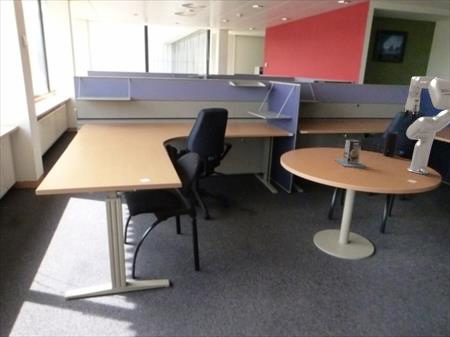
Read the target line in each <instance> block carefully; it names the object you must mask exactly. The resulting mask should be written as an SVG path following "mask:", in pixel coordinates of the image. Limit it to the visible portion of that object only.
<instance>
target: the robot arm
mask: <svg viewBox="0 0 450 337" xmlns="http://www.w3.org/2000/svg"><path fill="white" fill-rule="evenodd" d="M423 89H428V94H429V96H430V99H431V103H432V106H433V107H434V108H435V109H437V110H442V111H440V112H439V113H438V114H437V115H434V116H420V117H419V118H417V117H418V116H417V115H418V113H419V111H420V103H421V93H422V90H423ZM410 111H411V112H412V113H411V117H410V119H411V120H414V122H413V123H412V124H410V125H409V127H408V128H407V129H406V132H405V134H406V137H407V138H408V139H410V140H417V142H416V143H415V145H414V148H413V153H412V159H411V163H410V166H409V167H407V168H406V169H407V171H409V172H411V173H413V174H422V175H426V174H428V173H429V169H428V163H429V158H430V153H431V149H432V145H433V141H434V139H435V137H436V134H437V133H438V132H440V131H441V130H444V129H445V128H446V127H447V126H448V125H449V124H450V79H446V78H445V79H443V78H440V77H435V76H412V77H411V79H410V84H409V90H408V94H407V99H406V103H405V105H404V111H403V112H404V114H403V118H405V119H409V115H410Z"/></svg>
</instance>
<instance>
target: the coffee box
mask: <svg viewBox="0 0 450 337" xmlns="http://www.w3.org/2000/svg"><path fill="white" fill-rule="evenodd" d="M362 143H363V141H362V140H359V139H346V140H345V145H344V146H345V147H344V152H343V157H342V159H343V161H344V162H346V163H358V162H360V161H359V160H360V155H361V150H362V149H361V148H362Z"/></svg>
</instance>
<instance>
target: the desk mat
mask: <svg viewBox="0 0 450 337" xmlns="http://www.w3.org/2000/svg"><path fill="white" fill-rule="evenodd" d="M333 159H334V161H335V162H336V163H338V164H339V165H341V166H342V167H344V168H360V169H361V168H363V169H366V168H368V166H367V165H365V164H364V163H363V162H361V161H359V162H358V163H346V162H344V161H343V158H338V157H337V158H333Z"/></svg>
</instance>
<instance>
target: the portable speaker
mask: <svg viewBox="0 0 450 337" xmlns="http://www.w3.org/2000/svg"><path fill="white" fill-rule="evenodd" d="M398 135H399V132H398V131H389V130H388V131H387V133H386V135H385V138H384V144H383V152H382V153H383V154H382V155H383V156H384V157H385V156H388V157H390V158H392V157H394V155H395V153H396V150H397V149H396V148H397V144H398Z"/></svg>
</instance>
